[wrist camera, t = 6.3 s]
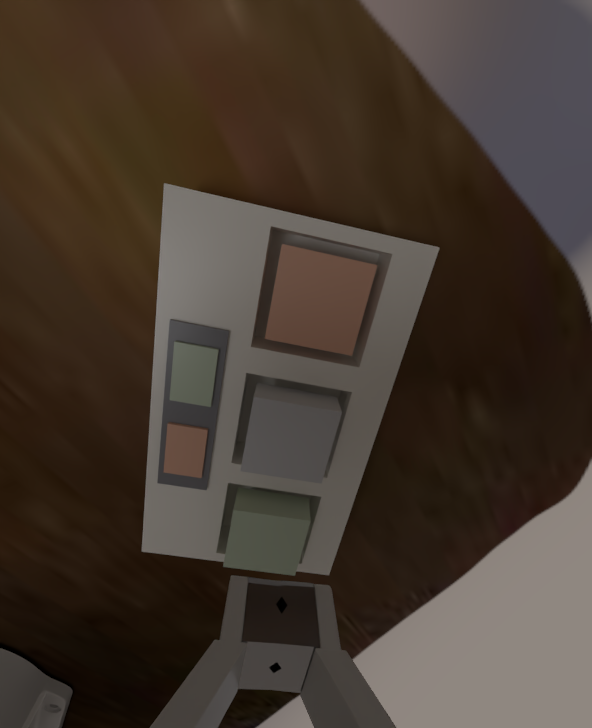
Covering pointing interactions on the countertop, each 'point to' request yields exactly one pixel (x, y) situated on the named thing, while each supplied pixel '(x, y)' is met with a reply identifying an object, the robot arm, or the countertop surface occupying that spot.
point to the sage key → (267, 532)
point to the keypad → (259, 367)
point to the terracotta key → (318, 300)
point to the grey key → (290, 433)
